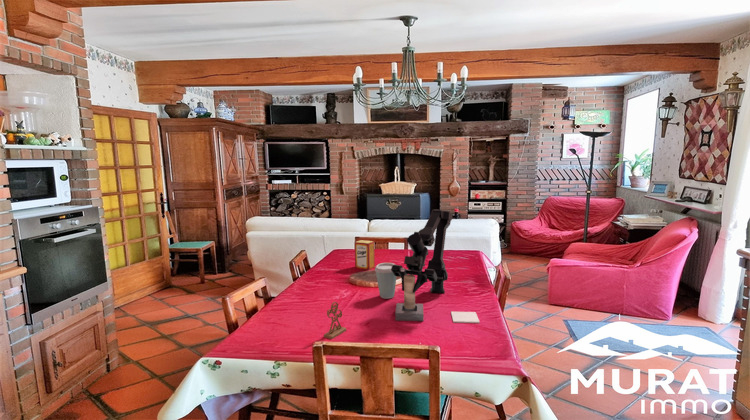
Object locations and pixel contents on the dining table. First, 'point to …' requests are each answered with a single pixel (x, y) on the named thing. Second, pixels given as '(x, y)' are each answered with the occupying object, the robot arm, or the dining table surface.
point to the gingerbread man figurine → (338, 329)
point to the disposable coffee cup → (385, 280)
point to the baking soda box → (364, 255)
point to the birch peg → (409, 292)
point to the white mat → (465, 317)
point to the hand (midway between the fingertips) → (408, 291)
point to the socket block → (409, 313)
